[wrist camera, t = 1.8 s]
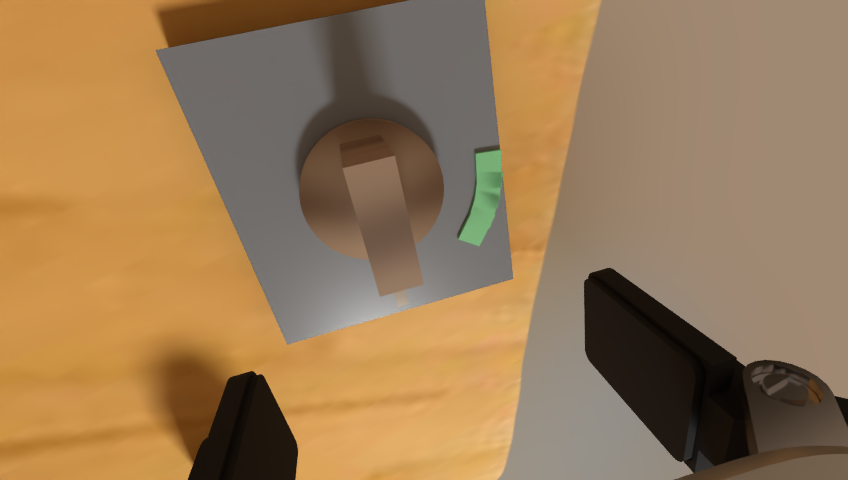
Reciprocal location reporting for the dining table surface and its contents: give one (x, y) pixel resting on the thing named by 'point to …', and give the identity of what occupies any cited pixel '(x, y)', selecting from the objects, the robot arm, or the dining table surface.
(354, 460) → the dining table surface
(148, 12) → the dining table surface
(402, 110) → the tuner plate
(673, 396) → the robot arm
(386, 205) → the tuning knob
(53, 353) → the dining table surface
